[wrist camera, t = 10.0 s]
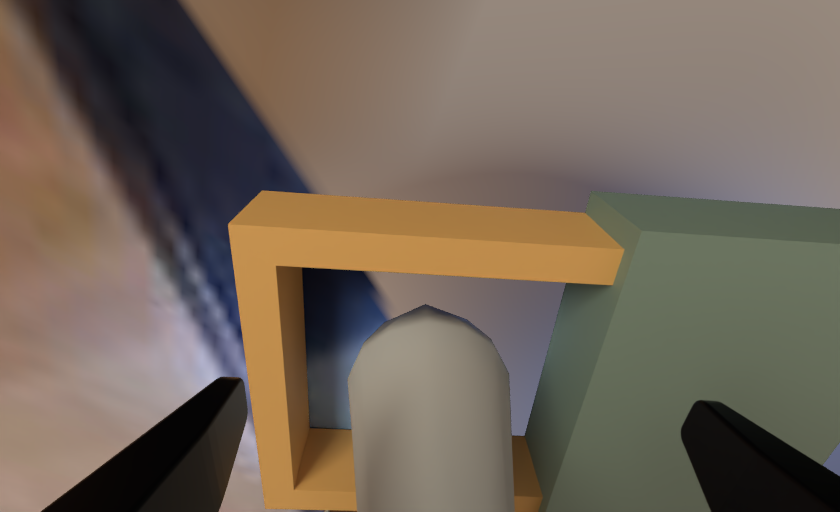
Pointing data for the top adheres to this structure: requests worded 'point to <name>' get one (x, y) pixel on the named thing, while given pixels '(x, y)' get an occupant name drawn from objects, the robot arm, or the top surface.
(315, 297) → the top surface
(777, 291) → the orange and green frame
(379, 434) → the salt shaker
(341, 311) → the top surface
